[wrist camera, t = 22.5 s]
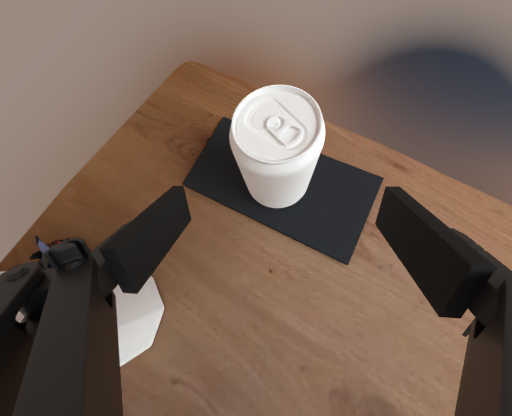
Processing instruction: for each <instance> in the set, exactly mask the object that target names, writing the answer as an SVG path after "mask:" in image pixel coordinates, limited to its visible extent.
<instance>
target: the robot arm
mask: <svg viewBox="0 0 512 416" xmlns="http://www.w3.org/2000/svg"><path fill="white" fill-rule="evenodd" d="M190 221H191V216H190V212H189V208H188V204H187V199H186V195H185V191H184V187H183V186H172V187H171V188H170V189H169V190H168V191H167V192H165V193H164V194H163V195H162V196H161V197H160V198H158V199H157V200H156V201H155V202H154V203H152V204H151V205H150V206H149V207H148V208H147V209H145V210H144V211H143V212H142V213H141V214H140V215H138V216H137V217H136V218H135V219H134V220H132V221H131V222H129V223H127V224H125V225H123V226H122V227H121V228H119V229H118V230H117V231H116V233H113V234H112V235H111V236H110V237H109V238H107V239H106V240H105V241H104V242H103V243H101V244H100V245H99V246H98V247H97V248H95V249H94V250H93V251H92V252H90V250H89V248H88V247H87V245H86V243H85V242H84V240H83V239H80V238H74V239H69V240H65V241H63V242H60V243H58V244H56V245H54V246H52V247H51V248H49V249H48V250H47V251H46V252H45V253H44V256H45V258H46V259H47V260H48V262H49V263H50V264H51V266H52V267H53V268H52V269H47V270H42V268H41V267H40V266H39V265H38V263H36V262H29V263H24V264H21V265H17V266H15V267H12V268H10V269H8V270H7V271H6V272H4V273H2V274H1V275H0V416H123V407H122V391H121V375H120V359H119V343H118V326H117V310H116V296H115V294H114V292H113V290H114V289H115V288H116V287H117V285H119V287H120V289H121V290H122V292H123V293H130V294H138V293H139V291H140V290H141V288H142V287H143V286H144V284H145V283H146V282H147V280H148V279H149V277H150V276H151V275H152V273H153V272H154V271H155V269H156V268H157V266H158V265H159V264H160V262H161V261H162V259H163V258H164V257H165V255H166V254H167V253H168V251H169V250H170V248H171V247H172V246H173V244H174V243H175V241H176V240H177V239H178V237H179V236H180V235H181V233H182V232H183V230H184V229H185V228H186V226H187V225H188V224H189V222H190ZM375 224H376V226H377V227H378V229H379V230H380V232H381V233H382V235H383V236H384V238H385V239H386V240H387V242H388V243H389V245H390V246H391V248H392V249H393V251H394V252H395V253H396V255H397V256H398V258H399V259H400V261H401V262H402V264H403V265H404V267H405V268H406V269H407V271H408V272H409V274H410V275H411V277H412V278H413V280H414V281H415V283H416V284H417V285H418V287H419V288H420V290H421V291H422V293H423V294H424V296H425V297H426V298H427V300H428V301H429V303H430V304H431V306H432V307H433V309H434V310H435V312H436V313H437V314H438V316H439V317H449V318H461V317H462V316H463V314H464V313H465V311H466V310H467V309H469V310H470V311H471V312H472V314H473V315H474V316H475V317H476V318H475V319H474V320H473V321H472V323H471V324H470V325H469V327H468V328H467V329H466V330H465V332H464V333H463V334H462V335H463V336H465V337H466V336H467V335H468V334H469V338H468V343H467V349H466V354H465V360H464V366H463V371H462V377H461V382H460V388H459V393H458V399H457V404H456V410H455V415H454V416H512V271H511V270H510V269H509V268H507V267H506V266H505V265H503V264H502V263H501V262H500V261H498V260H497V259H496V258H495V257H493V256H492V255H491V254H490V253H488V252H487V251H484V249H483V248H482V247H481V246H479V245H478V244H476V242H474V241H473V240H472V239H470V238H469V237H468V236H467V235H465V234H463V233H461V232H459V231H457V230H455V229H453V228H449V227H448V226H446V225H445V224H444V223H443V222H442V221H440V220H439V219H438V218H437V217H435V216H434V215H433V214H432V213H431V212H429V211H428V210H427V209H426V208H425V207H423V206H422V205H421V204H420V203H419V202H417V201H416V200H415V199H414V198H412V197H411V196H410V195H409V194H408V193H406V192H405V191H404V190H403V189H402V188H400V187H386V188H385V191H384V195H383V198H382V202H381V205H380V209H379V212H378V216H377V219H376V223H375ZM19 311H20V312H21V313H22V314H23V315H24V316H25V317H24V318H23V320H22V321H21V322H20V323H19V322H18V321H16V316H17V314H18V312H19Z"/></svg>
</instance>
